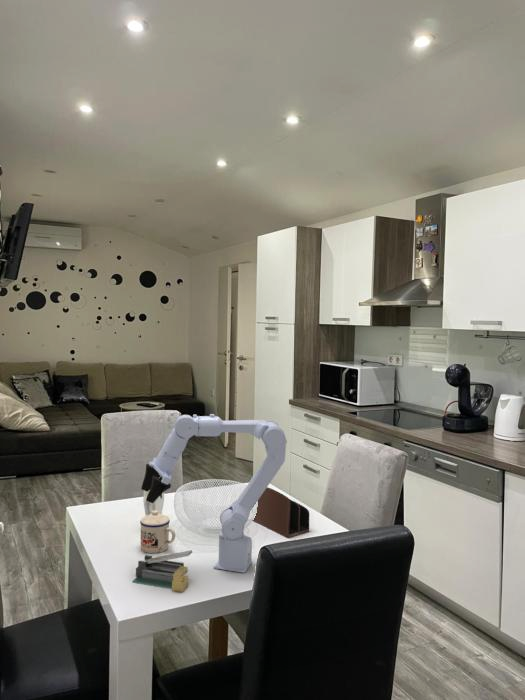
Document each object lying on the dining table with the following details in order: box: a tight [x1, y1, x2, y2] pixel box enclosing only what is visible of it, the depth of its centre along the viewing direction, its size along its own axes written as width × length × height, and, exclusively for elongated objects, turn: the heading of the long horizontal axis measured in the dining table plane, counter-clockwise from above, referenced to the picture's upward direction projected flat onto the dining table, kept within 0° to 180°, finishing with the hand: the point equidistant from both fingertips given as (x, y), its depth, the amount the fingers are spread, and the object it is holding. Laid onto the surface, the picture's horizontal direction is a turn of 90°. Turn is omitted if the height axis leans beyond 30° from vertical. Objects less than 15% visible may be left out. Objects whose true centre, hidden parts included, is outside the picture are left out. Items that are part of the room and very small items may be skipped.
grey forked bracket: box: [135, 554, 153, 578], centre depth 156 cm, size 3×5×4 cm, turn 165°
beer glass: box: [142, 490, 165, 516], centre depth 190 cm, size 7×7×15 cm
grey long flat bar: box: [143, 550, 193, 564], centre depth 154 cm, size 15×2×1 cm, turn 75°
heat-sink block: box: [132, 560, 188, 590], centre depth 155 cm, size 12×11×3 cm
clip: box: [171, 565, 189, 593], centre depth 148 cm, size 3×5×5 cm, turn 165°
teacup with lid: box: [139, 510, 176, 554], centre depth 173 cm, size 12×9×12 cm
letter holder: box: [253, 486, 310, 539], centre depth 195 cm, size 10×20×14 cm, turn 38°
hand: (146, 495), depth 159 cm, fingers open, 7 cm apart
